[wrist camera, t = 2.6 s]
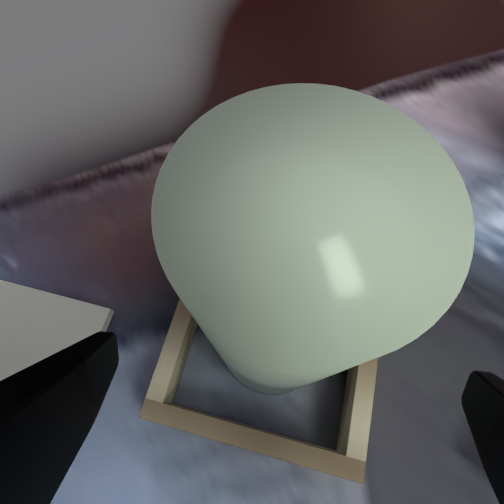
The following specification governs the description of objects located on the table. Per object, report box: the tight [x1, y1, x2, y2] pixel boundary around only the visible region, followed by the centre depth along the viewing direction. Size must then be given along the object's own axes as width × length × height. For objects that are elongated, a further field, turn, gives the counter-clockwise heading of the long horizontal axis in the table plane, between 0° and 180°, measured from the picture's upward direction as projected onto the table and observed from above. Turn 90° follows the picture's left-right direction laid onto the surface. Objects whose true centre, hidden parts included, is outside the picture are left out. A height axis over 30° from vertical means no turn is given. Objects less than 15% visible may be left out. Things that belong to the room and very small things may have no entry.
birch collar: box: [138, 299, 378, 484], centre depth 18 cm, size 10×10×2 cm
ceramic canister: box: [151, 83, 475, 395], centre depth 12 cm, size 5×5×14 cm
